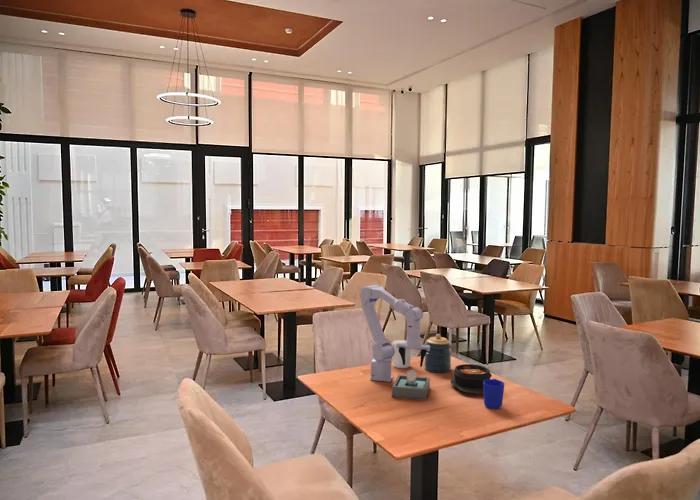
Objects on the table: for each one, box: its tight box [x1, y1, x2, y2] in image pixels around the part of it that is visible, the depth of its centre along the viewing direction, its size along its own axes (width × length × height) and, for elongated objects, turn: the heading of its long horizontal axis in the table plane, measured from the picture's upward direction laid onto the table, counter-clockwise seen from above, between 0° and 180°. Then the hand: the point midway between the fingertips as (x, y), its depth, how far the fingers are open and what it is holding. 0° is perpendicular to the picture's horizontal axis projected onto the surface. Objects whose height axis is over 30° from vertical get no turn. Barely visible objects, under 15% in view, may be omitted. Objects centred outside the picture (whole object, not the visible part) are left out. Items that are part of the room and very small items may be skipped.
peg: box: [406, 369, 417, 387], centre depth 216 cm, size 4×4×8 cm
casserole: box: [450, 363, 493, 394], centre depth 223 cm, size 25×19×8 cm
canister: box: [423, 333, 452, 373], centre depth 248 cm, size 13×13×18 cm
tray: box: [391, 374, 431, 401], centre depth 216 cm, size 14×16×4 cm
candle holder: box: [391, 339, 412, 369], centre depth 253 cm, size 10×10×12 cm
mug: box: [483, 378, 505, 410], centre depth 202 cm, size 8×12×10 cm
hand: (412, 365), depth 223 cm, fingers open, 7 cm apart
